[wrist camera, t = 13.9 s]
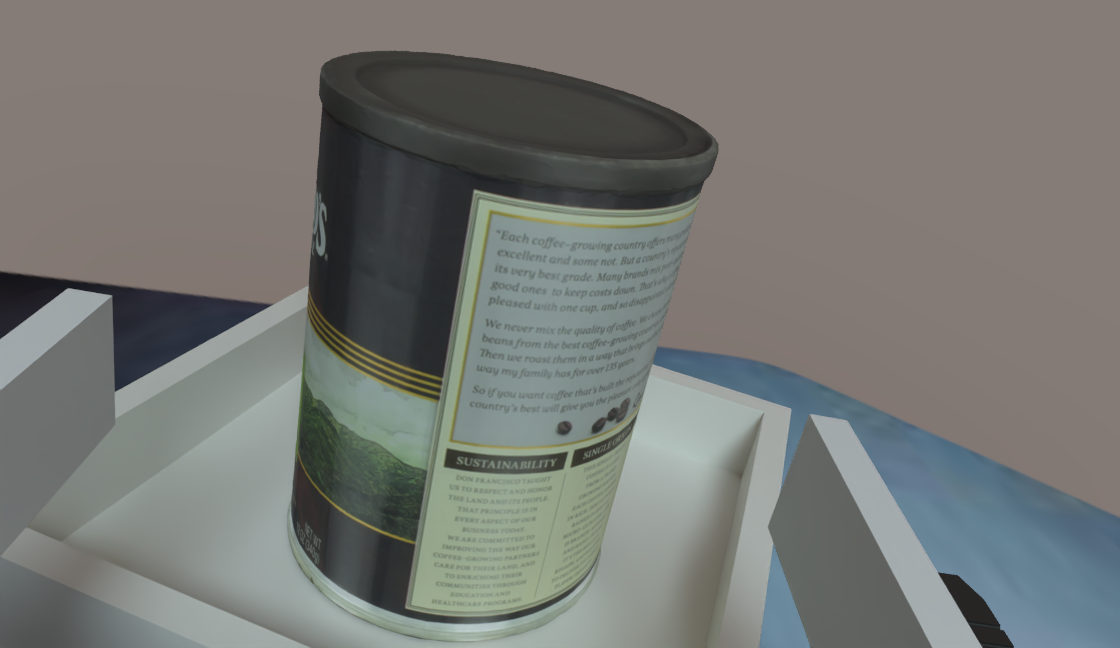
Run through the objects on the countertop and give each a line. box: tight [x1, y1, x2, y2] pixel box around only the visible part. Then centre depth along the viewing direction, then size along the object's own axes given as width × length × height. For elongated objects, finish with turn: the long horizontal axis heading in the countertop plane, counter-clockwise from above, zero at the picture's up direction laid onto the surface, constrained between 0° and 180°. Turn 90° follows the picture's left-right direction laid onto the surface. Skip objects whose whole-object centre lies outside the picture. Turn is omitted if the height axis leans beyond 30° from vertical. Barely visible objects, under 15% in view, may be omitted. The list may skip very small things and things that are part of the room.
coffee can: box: [287, 51, 718, 642], centre depth 25 cm, size 10×10×14 cm
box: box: [0, 286, 791, 648], centre depth 28 cm, size 20×20×4 cm
